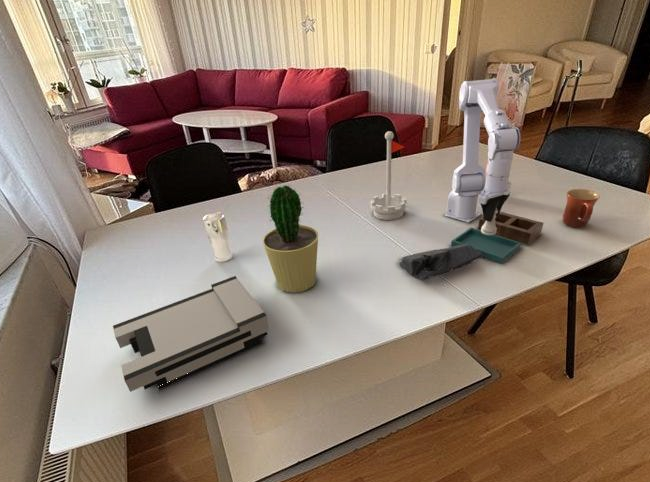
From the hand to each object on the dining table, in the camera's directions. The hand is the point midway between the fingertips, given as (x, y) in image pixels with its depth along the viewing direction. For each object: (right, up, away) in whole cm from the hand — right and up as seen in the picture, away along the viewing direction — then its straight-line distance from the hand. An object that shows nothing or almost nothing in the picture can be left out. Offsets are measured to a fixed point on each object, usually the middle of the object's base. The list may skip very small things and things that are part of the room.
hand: (490, 218), depth 116 cm
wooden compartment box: (+11, -3, +12) cm, 16 cm away
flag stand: (-24, +6, +32) cm, 40 cm away
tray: (+1, -8, +5) cm, 10 cm away
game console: (-82, -34, -19) cm, 90 cm away
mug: (+32, -1, +11) cm, 34 cm away
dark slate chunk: (-15, -14, -1) cm, 20 cm away
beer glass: (-83, -11, +16) cm, 85 cm away
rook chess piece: (+1, -4, +3) cm, 5 cm away
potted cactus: (-57, -19, 0) cm, 60 cm away
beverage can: (+17, +14, +37) cm, 43 cm away
